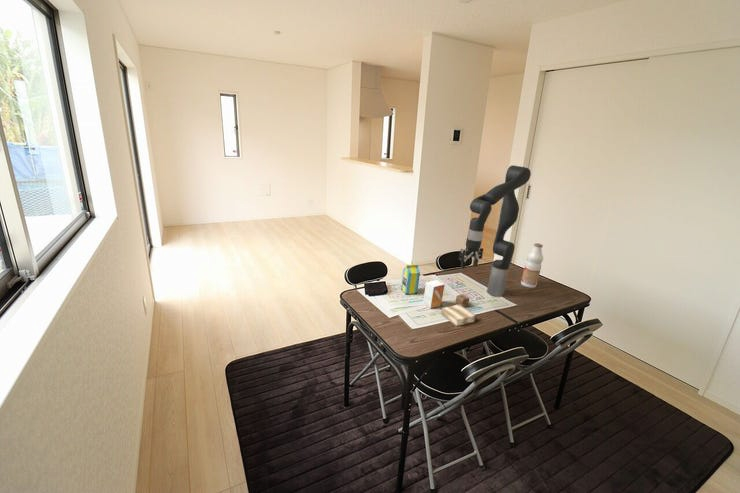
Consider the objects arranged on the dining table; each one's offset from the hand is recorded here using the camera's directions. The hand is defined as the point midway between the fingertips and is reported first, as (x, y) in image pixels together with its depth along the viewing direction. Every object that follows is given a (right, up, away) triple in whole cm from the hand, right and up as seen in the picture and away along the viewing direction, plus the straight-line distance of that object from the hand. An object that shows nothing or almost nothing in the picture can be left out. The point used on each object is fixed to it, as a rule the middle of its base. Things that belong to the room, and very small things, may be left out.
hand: (468, 267), depth 185 cm
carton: (-30, -15, +18) cm, 38 cm away
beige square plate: (-8, -26, -6) cm, 28 cm away
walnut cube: (-2, -21, +7) cm, 23 cm away
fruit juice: (+50, -14, +41) cm, 66 cm away
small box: (-19, -21, +5) cm, 29 cm away
